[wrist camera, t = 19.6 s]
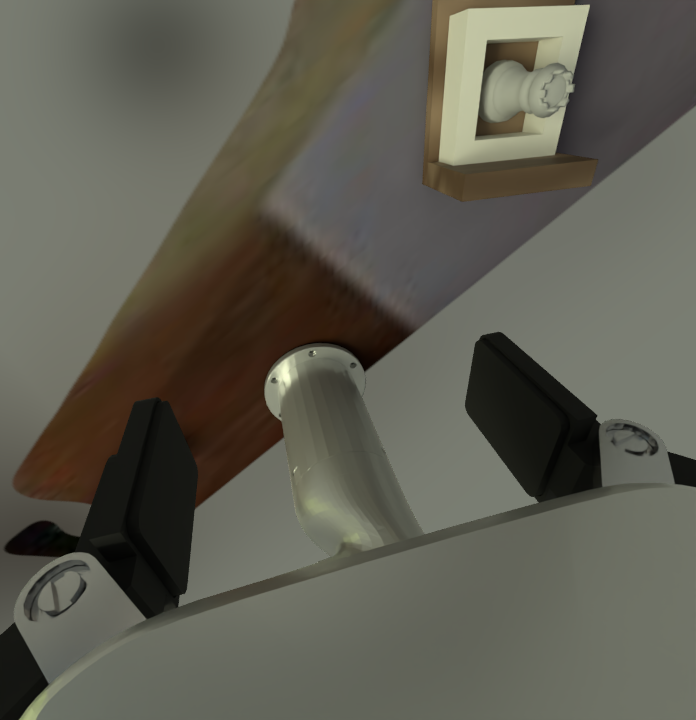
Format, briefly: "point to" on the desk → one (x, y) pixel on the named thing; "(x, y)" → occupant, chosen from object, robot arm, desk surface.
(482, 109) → the rook chess piece
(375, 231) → the desk surface
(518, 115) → the wooden bookend
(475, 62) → the socket block
